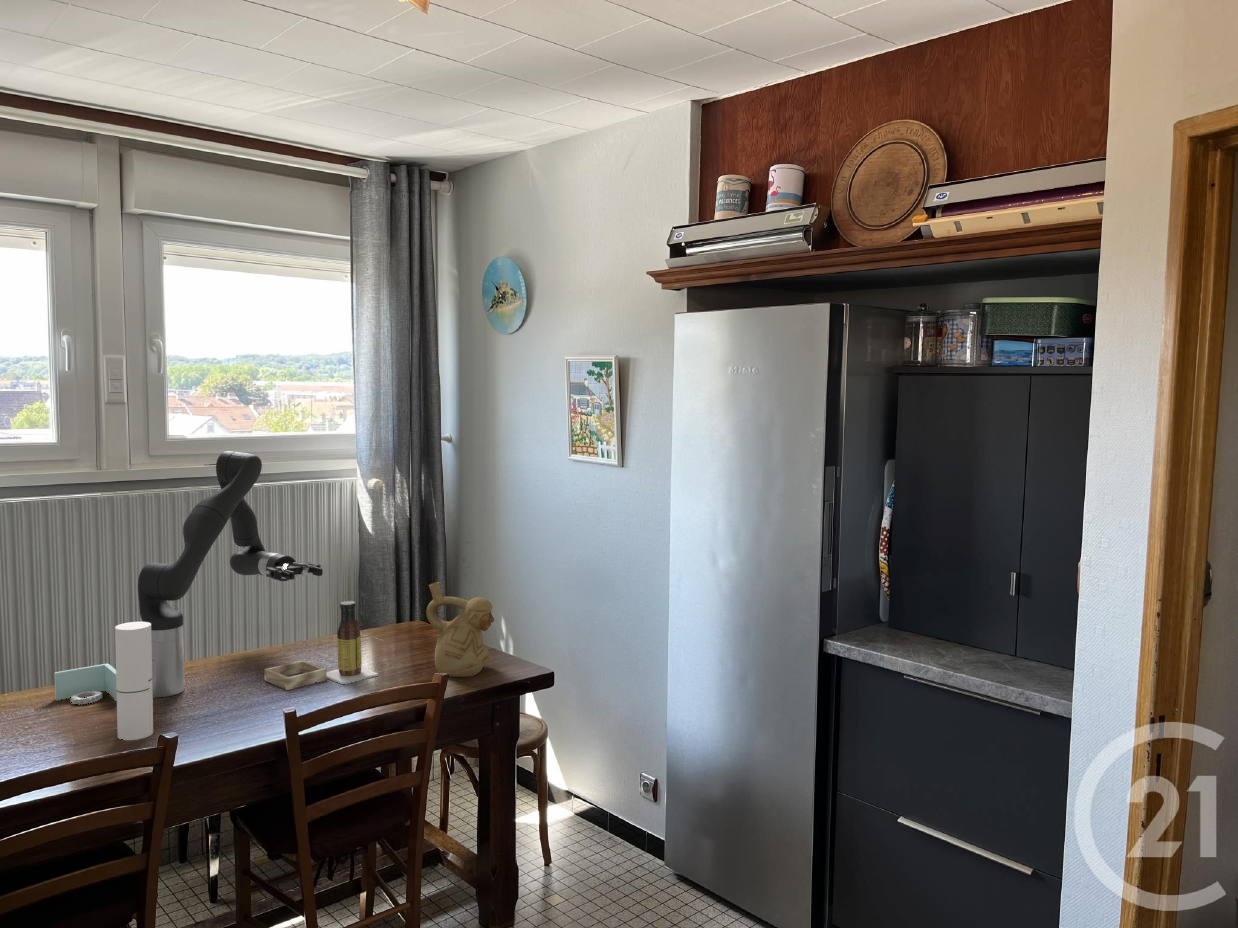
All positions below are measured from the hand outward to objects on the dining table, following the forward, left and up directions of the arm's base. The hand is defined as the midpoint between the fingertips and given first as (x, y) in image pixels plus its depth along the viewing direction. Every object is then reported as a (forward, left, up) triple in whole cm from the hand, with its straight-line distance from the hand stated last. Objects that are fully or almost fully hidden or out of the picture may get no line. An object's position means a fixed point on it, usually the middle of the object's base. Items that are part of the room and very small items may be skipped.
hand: (307, 574), depth 259 cm
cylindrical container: (-54, -17, -27) cm, 62 cm away
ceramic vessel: (+27, -33, -27) cm, 51 cm away
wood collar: (-9, -8, -26) cm, 29 cm away
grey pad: (+3, -15, -26) cm, 31 cm away
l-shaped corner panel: (-52, +13, -27) cm, 60 cm away
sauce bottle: (+4, -15, -26) cm, 30 cm away
